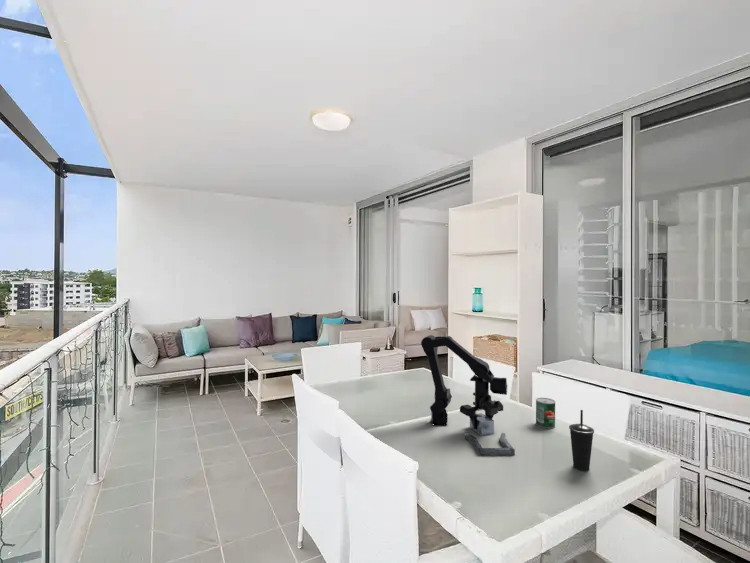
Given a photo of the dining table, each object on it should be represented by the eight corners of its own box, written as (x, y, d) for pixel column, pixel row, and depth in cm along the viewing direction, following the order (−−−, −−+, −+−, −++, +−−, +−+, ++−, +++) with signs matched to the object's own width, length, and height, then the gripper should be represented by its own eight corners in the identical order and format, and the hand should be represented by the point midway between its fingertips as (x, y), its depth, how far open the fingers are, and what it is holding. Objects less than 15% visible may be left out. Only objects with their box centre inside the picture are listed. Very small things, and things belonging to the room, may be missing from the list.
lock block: (481, 435, 158) (481, 421, 157) (469, 427, 166) (469, 414, 166) (493, 433, 159) (494, 420, 159) (481, 425, 168) (481, 412, 168)
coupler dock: (474, 455, 140) (475, 450, 140) (464, 438, 155) (464, 433, 155) (519, 454, 140) (519, 449, 140) (504, 437, 155) (504, 432, 155)
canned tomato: (538, 420, 174) (538, 396, 174) (556, 424, 169) (556, 399, 169) (533, 425, 167) (534, 401, 167) (553, 430, 163) (553, 404, 163)
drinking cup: (564, 462, 135) (564, 406, 134) (584, 461, 135) (585, 405, 135) (577, 473, 127) (577, 414, 127) (599, 472, 128) (599, 413, 127)
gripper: (474, 400, 152) (474, 438, 152) (512, 394, 158) (512, 431, 159) (459, 392, 162) (459, 428, 162) (494, 387, 169) (494, 422, 169)
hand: (481, 427), depth 163 cm, fingers closed on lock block, 6 cm apart
